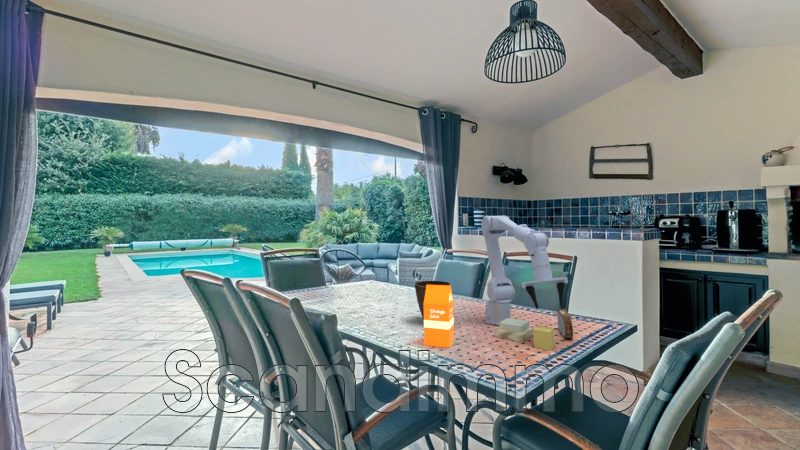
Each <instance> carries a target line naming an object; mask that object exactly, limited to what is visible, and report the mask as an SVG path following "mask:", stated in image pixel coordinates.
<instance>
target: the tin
mask: <svg viewBox="0 0 800 450" xmlns="http://www.w3.org/2000/svg"><path fill="white" fill-rule="evenodd" d="M556 315H557V316H556V317H557V318H556V319H557V329H558V330H559V333H560V334H561V335H562V337H563V338H564V339H573V337H574V328H573V322H572V321H573V320H572V318H571V315H570V313H568V311H567V310H566V309H565V308H563V309H557V310H556Z"/></svg>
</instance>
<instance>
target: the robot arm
mask: <svg viewBox="0 0 800 450" xmlns="http://www.w3.org/2000/svg"><path fill="white" fill-rule="evenodd" d="M480 225H481V232H482V235H483V237H484V241H485V246H486V247H485V248H486V252H487V258H488V262H489V263H488V264H489V269H490V273H491V279H490V280H489V281H488V282H487V284H486V285H487V291H486V293H487V298H488V300H487V301H486V303H485V321H484V323H485V324H489V325H494V326H499V322H501V321H503V320H505V319H507V318H511V317H512V316H511V312H512V311H511V310H512V309H511V302H513V299H514V298H515V295H516V290H515V288H514V286H513V284H512V280H511V279H509V278H508V277H506V274H505V268H504V263H503V259H502V252H501V249H500V243H499V239H500V237H502V236H503V235H504V234H505V233H506V232H507V231H508V232H510V233H512V235H513V237H514V238H515V239H516V240H518V241H519V242H521V243H523V245H524V247H525V249H526V250H527V254H528V255H529V256H530V261H531V266H532V272H533V277H534V280H532V281H531V280H530V281H524V282H521V287H522V289H525V290H526V293H527V294H528V295H529V296H530V299H531V300H532V303H533V304H534V307H535V310H536V309H538V310H539V303H538V300H537V295H536V288H535V287H544V286H545V287H546V286H553V285H556V289H557V293H558V300H559V305H560V307H564V304H563V299H564V291H565V288H566V284H568V283H569V280H568V277H567V276H565V277H555V278H553V272H552V268H551V264H550V263H551V262H550V257H549V253H548V250H547V248H548V246H549V244H550V241H549V240H550V238H549V236H548V235H547V234H546V233H545V232H542V231H540V232H538V231H536V230H535V229H532V228H530V227H528V225H527V224H526V223H524V224H523V223H522V224H519V225H518V224H517V223H515V222H514V221H513V220H511V219H510V217H509V216H507V215H505V214H504V215H484V216H483V217H482V220H481V223H480Z"/></svg>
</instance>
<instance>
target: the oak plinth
mask: <svg viewBox="0 0 800 450" xmlns="http://www.w3.org/2000/svg"><path fill="white" fill-rule="evenodd" d="M494 333H495V338H499V339H500V338H501V339H506V340H511V341H515V342H519V343H520V342H521V343H524V342H525V341H527V340H528V339H529V338H531V337H532V336H534V328H533V327H530V326H529V329H527V330H526V331H524V332H523V333H522V334H520V333H514V332H509V331H504V330H499V327H497V328H496V329H495V332H494Z"/></svg>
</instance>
